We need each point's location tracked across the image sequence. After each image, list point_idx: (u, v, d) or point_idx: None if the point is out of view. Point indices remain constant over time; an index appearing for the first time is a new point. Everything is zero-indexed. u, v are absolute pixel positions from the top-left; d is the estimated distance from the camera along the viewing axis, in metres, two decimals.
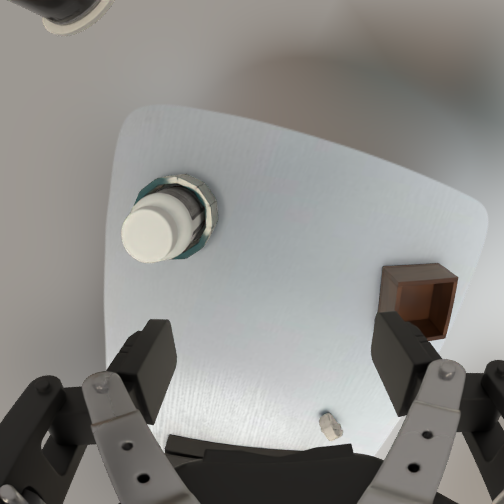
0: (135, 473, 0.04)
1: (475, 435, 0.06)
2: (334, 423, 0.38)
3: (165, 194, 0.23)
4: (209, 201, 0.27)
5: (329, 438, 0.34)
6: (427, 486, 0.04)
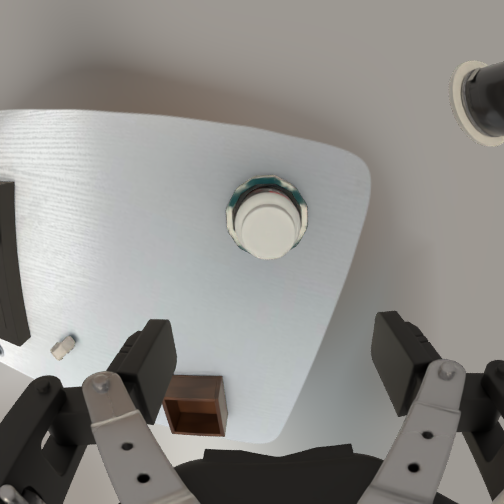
0: (135, 473, 0.04)
1: (475, 435, 0.06)
2: None
3: (299, 233, 0.26)
4: None
5: (55, 353, 0.34)
6: (427, 486, 0.04)
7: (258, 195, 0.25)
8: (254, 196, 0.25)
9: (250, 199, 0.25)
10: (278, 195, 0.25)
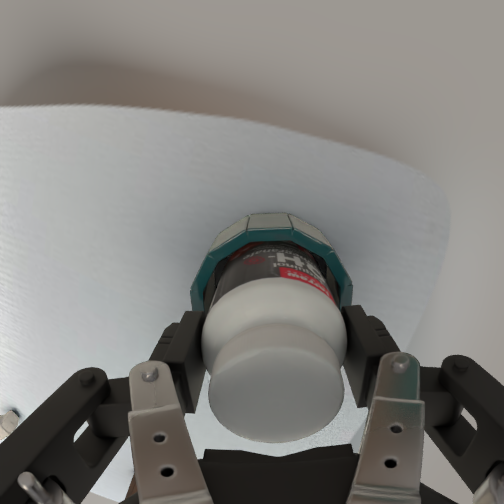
0: (160, 466, 0.05)
1: (440, 431, 0.07)
2: None
3: None
4: None
5: None
6: (409, 479, 0.04)
7: (253, 288, 0.10)
8: (244, 289, 0.10)
9: (234, 297, 0.10)
10: (302, 288, 0.10)
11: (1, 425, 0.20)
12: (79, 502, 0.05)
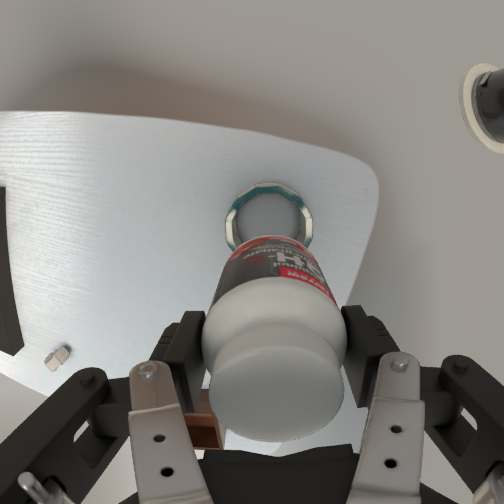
0: (160, 466, 0.05)
1: (440, 431, 0.07)
2: None
3: None
4: None
5: (48, 364, 0.32)
6: (409, 478, 0.04)
7: (254, 288, 0.10)
8: (244, 289, 0.10)
9: (234, 297, 0.10)
10: (302, 288, 0.10)
11: (56, 356, 0.33)
12: (79, 502, 0.05)
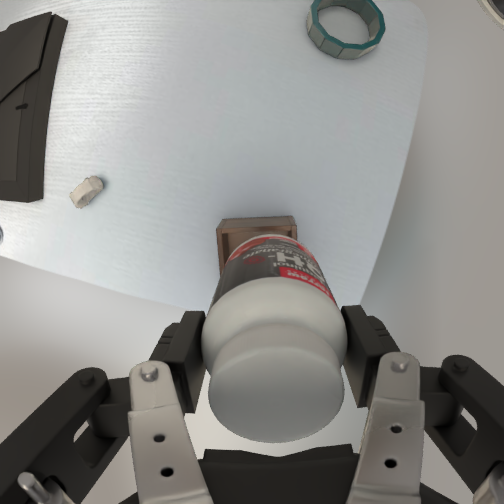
0: (160, 466, 0.05)
1: (440, 431, 0.07)
2: (87, 198, 0.32)
3: None
4: (365, 49, 0.24)
5: (76, 190, 0.28)
6: (409, 478, 0.04)
7: (253, 288, 0.10)
8: (244, 289, 0.10)
9: (234, 297, 0.10)
10: (302, 288, 0.10)
11: (88, 179, 0.29)
12: (79, 502, 0.05)
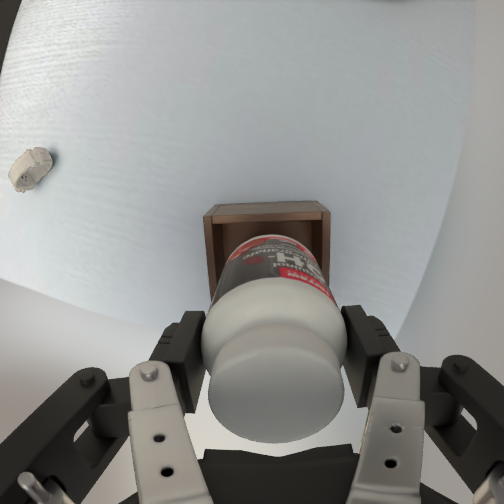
0: (160, 466, 0.05)
1: (440, 431, 0.07)
2: (33, 180, 0.21)
3: None
4: None
5: (14, 166, 0.18)
6: (409, 479, 0.04)
7: (253, 288, 0.10)
8: (244, 289, 0.10)
9: (234, 297, 0.10)
10: (302, 288, 0.10)
11: (30, 151, 0.18)
12: (79, 502, 0.05)
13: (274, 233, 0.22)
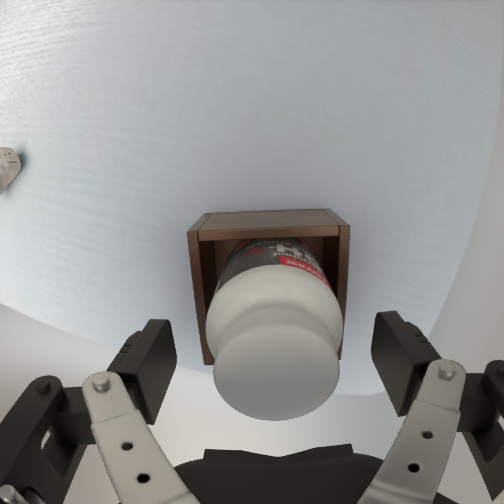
0: (135, 473, 0.04)
1: (475, 435, 0.06)
2: (1, 185, 0.17)
3: None
4: None
5: None
6: (427, 486, 0.04)
7: (255, 274, 0.11)
8: (246, 275, 0.11)
9: (237, 283, 0.11)
10: (300, 274, 0.11)
11: None
12: None
13: None
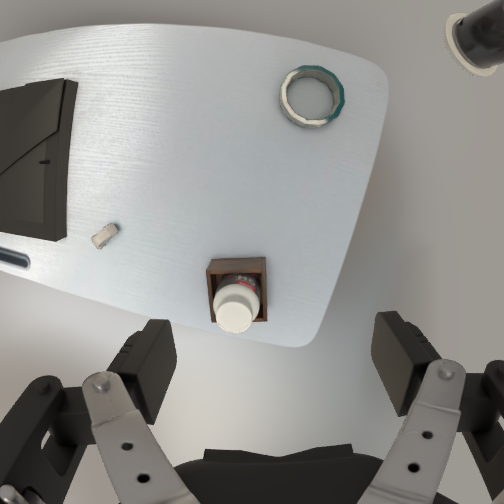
0: (135, 473, 0.04)
1: (475, 435, 0.06)
2: (104, 240, 0.42)
3: (258, 311, 0.37)
4: (325, 123, 0.34)
5: (97, 236, 0.38)
6: (427, 486, 0.04)
7: (228, 287, 0.36)
8: (226, 287, 0.36)
9: (223, 289, 0.36)
10: (242, 287, 0.36)
11: (106, 228, 0.39)
12: None
13: None
